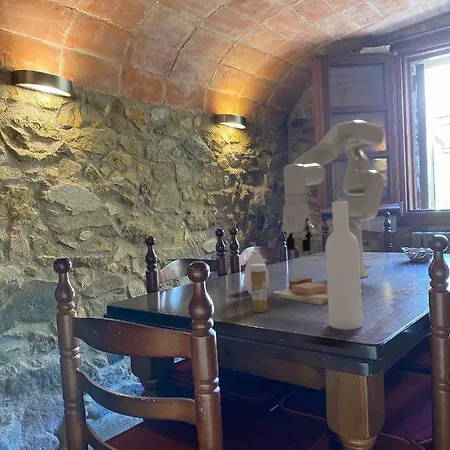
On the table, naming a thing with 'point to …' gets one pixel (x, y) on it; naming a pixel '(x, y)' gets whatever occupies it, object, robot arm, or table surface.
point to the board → (308, 297)
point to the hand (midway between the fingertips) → (298, 250)
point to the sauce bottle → (253, 259)
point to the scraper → (294, 282)
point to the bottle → (343, 273)
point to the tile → (309, 288)
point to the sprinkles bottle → (259, 287)
